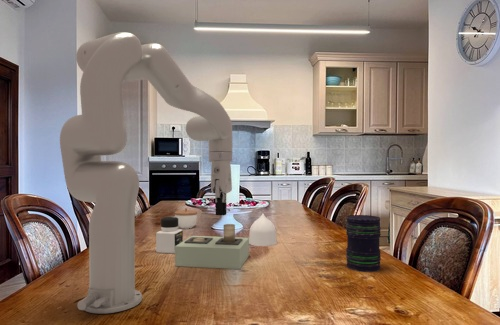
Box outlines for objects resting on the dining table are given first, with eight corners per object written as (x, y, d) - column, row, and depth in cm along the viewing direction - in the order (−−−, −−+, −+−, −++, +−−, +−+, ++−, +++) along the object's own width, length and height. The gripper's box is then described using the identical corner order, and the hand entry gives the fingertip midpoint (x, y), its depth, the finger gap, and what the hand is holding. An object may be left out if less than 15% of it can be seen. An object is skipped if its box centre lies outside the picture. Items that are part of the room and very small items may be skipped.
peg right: (233, 246, 114) (233, 226, 114) (222, 246, 114) (222, 225, 114) (235, 244, 117) (235, 224, 117) (225, 243, 118) (225, 223, 118)
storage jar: (357, 273, 103) (357, 220, 103) (339, 264, 112) (339, 215, 112) (388, 270, 106) (387, 219, 106) (368, 261, 115) (368, 214, 115)
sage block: (239, 269, 107) (239, 247, 107) (175, 266, 111) (175, 244, 111) (249, 255, 123) (249, 236, 123) (192, 253, 126) (192, 234, 126)
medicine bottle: (175, 253, 126) (175, 218, 126) (155, 252, 127) (155, 218, 127) (183, 248, 133) (182, 215, 133) (164, 248, 134) (164, 215, 134)
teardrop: (266, 239, 150) (266, 209, 150) (282, 244, 141) (282, 212, 141) (243, 242, 144) (243, 211, 144) (259, 247, 135) (259, 215, 135)
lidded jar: (201, 227, 178) (201, 207, 178) (186, 230, 168) (186, 210, 168) (185, 225, 183) (185, 206, 183) (169, 228, 174) (169, 208, 174)
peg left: (202, 261, 116) (202, 240, 116) (191, 260, 116) (191, 240, 116) (206, 258, 119) (205, 238, 119) (195, 257, 120) (195, 237, 120)
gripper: (227, 157, 109) (227, 218, 109) (236, 157, 123) (236, 211, 124) (202, 157, 110) (203, 218, 110) (214, 157, 124) (215, 211, 125)
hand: (221, 214), depth 117 cm, fingers closed
